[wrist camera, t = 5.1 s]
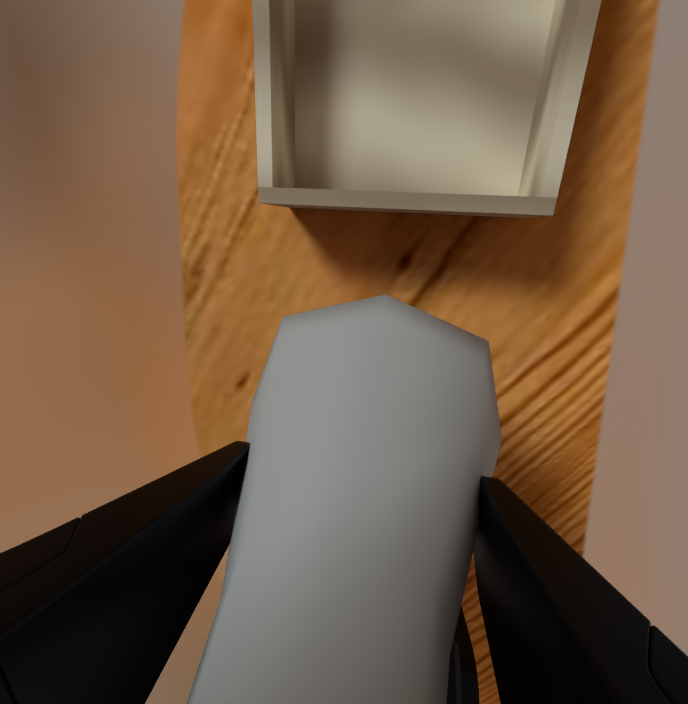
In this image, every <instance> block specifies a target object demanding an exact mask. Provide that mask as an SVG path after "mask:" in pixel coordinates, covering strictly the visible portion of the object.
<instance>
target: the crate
mask: <svg viewBox="0 0 688 704" xmlns="http://www.w3.org/2000/svg"><path fill="white" fill-rule="evenodd" d="M252 1H253V34H254V66H255V99H256V132H257V164H258V197H259V203H262V204H269V205H275V206H282V207H289V208H311V209H334V210H357V211H379V212H402V213H425V214H448V215H470V216H493V217H516V218H525V217H540V216H553V214H554V210H555V205H556V201H557V197H558V192H559V188H560V183H561V179H562V174H563V170H564V165H565V161H566V156H567V152H568V148H569V143H570V139H571V134H572V130H573V125H574V121H575V116H576V112H577V108H578V103H579V99H580V94H581V90H582V85H583V81H584V76H585V72H586V67H587V63H588V59H589V54H590V50H591V45H592V41H593V36H594V32H595V27H596V23H597V18H598V14H599V10H600V5H601V1H602V0H252Z"/></svg>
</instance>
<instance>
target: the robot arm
mask: <svg viewBox="0 0 688 704" xmlns="http://www.w3.org/2000/svg"><path fill="white" fill-rule="evenodd" d="M249 449H250V443H249V442H242V441H235V442H233V443H231V444H229V445H227V446H225V447H223V448H221V449H219V450H217V451H215V452H212V453H210V454H208V455H206V456H204V457H202V458H200V459H198V460H196V461H194V462H192V463H190V464H188V465H186V466H183V467H181V468H179V469H177V470H175V471H173V472H171V473H169V474H167V475H165V476H163V477H161V478H159V479H156V480H155V481H152V482H151V483H148V484H146V485H144V486H142V487H140V488H138V489H136V490H134V491H132V492H130V493H127V494H126V495H123V496H121V497H119V498H117V499H115V500H113V501H111V502H109V503H107V504H105V505H102V506H100V507H98V508H96V509H94V510H92V511H90V512H88V513H86V514H84V515H82V517H81V519H80V518H75V519H73V520H71V521H69V522H67V523H65V524H63V525H61V526H59V527H57V528H55V529H53V530H51V531H48V532H46V533H44V534H42V535H40V536H38V537H35V538H33V539H31V540H29V541H27V542H25V543H22V544H21V545H18V546H16V547H13V548H11V549H9V550H7V551H4V552H2V553H0V704H145V702H146V700H147V698H148V696H149V695H150V693H151V691H152V689H153V687H154V685H155V683H156V681H157V680H158V678H159V676H160V674H161V672H162V670H163V668H164V666H165V665H166V663H167V661H168V659H169V657H170V655H171V653H172V651H173V650H174V648H175V646H176V644H177V642H178V640H179V638H180V636H181V634H182V633H183V631H184V629H185V627H186V625H187V623H188V621H189V619H190V618H191V616H192V614H193V612H194V610H195V608H196V606H197V604H198V603H199V601H200V599H201V597H202V595H203V593H204V591H205V589H206V587H207V586H208V584H209V582H210V580H211V578H212V576H213V574H214V572H215V570H216V569H217V567H218V565H219V563H220V561H221V559H222V557H223V555H224V554H225V552H226V550H227V548H228V546H229V544H230V541H231V536H232V531H233V525H234V519H235V514H236V508H237V503H238V497H239V491H240V486H241V480H242V476H243V472H244V468H245V464H246V460H247V457H248V453H249ZM474 559H475V569H476V579H477V588H478V594H479V600H480V605H481V610H482V615H483V620H484V625H485V629H486V634H487V639H488V644H489V649H490V654H491V658H492V663H493V668H494V673H495V678H496V682H497V687H498V692H499V697H500V702H501V704H688V656H687V655H686V654H685V653H684V652H682V651H681V650H680V649H679V648H678V647H677V646H676V645H675V644H674V643H673V642H672V641H671V640H669V638H667V637H666V636H665V635H664V634H663V633H662V632H661V631H660V630H659V629H658V628H657V627H656V626H651V624H650V621H649V620H648V619H647V618H646V617H645V616H644V615H643V614H642V613H641V612H640V611H639V610H638V609H636V607H634V606H633V605H632V604H631V603H630V602H629V601H628V600H627V599H626V598H625V597H624V596H623V595H622V594H621V593H620V592H619V591H617V590H616V589H615V588H614V587H613V586H612V585H611V584H610V583H609V582H608V581H607V580H606V579H605V578H604V577H603V576H602V575H601V574H600V573H598V572H597V571H596V570H595V569H594V568H593V567H592V566H591V565H590V564H589V563H588V562H586V560H585V559H584V558H583V557H582V556H580V555H579V554H578V553H577V552H576V551H575V550H574V549H573V548H572V547H571V546H570V545H569V544H568V543H567V542H566V541H565V540H564V539H562V538H561V537H560V536H559V535H558V534H557V533H556V532H555V531H554V530H553V529H552V528H551V527H550V526H549V525H548V524H547V523H546V522H544V521H543V520H542V519H541V518H540V517H539V516H538V515H537V514H536V513H535V512H534V511H533V510H532V509H531V508H530V507H529V506H528V505H526V504H525V503H524V502H523V501H522V500H521V499H520V498H519V497H518V496H517V495H516V494H515V493H514V492H513V491H512V490H511V489H510V488H508V487H507V486H506V485H505V484H504V483H503V482H502V481H501V480H500V479H498V478H494V477H487V476H481V478H480V513H479V526H478V531H477V535H476V540H475V544H474ZM650 626H651V627H650ZM447 704H479V688H478V678H477V670H476V663H475V657H474V653H473V648H472V644H471V640H470V636H469V633H468V629H467V625H466V621H465V618H464V614H463V610H462V606H461V607H460V612H459V616H458V621H457V625H456V630H455V634H454V639H453V643H452V648H451V652H450V661H449V675H448V689H447Z"/></svg>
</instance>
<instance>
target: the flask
mask: <svg viewBox="0 0 688 704" xmlns="http://www.w3.org/2000/svg"><path fill="white" fill-rule="evenodd" d="M501 440H502V436H501V429H500V422H499V414H498V407H497V400H496V392H495V385H494V378H493V370H492V363H491V356H490V348H489V341H487V340H485V339H483V338H481V337H478V336H476V335H474V334H472V333H470V332H467V331H465V330H463V329H461V328H459V327H456V326H454V325H452V324H450V323H448V322H445V321H443V320H441V319H439V318H437V317H434V316H432V315H430V314H428V313H426V312H423V311H421V310H419V309H417V308H415V307H412V306H410V305H408V304H406V303H404V302H401V301H399V300H397V299H395V298H393V297H390V296H388V295H386V294H385V295H381V296H376V297H371V298H367V299H362V300H358V301H353V302H348V303H344V304H339V305H334V306H330V307H325V308H321V309H316V310H311V311H307V312H302V313H297V314H293V315H288V316H284V317H283V318H282V321H281V323H280V326H279V329H278V332H277V334H276V337H275V340H274V343H273V345H272V348H271V351H270V354H269V356H268V359H267V362H266V365H265V368H264V370H263V373H262V376H261V379H260V381H259V384H258V387H257V390H256V392H255V395H254V398H253V401H252V406H251V412H250V417H249V425H248V434H247V442H249V443H250V449H249V453H248V457H247V460H246V464H245V468H244V472H243V476H242V480H241V486H240V491H239V497H238V503H237V508H236V514H235V519H234V525H233V531H232V536H231V542H230V547H229V553H228V559H227V565H226V570H225V576H224V582H223V587H222V592H221V598H220V602H219V606H218V609H217V612H216V615H215V618H214V621H213V624H212V627H211V631H210V633H209V636H208V639H207V643H206V646H205V649H204V652H203V655H202V658H201V661H200V664H199V667H198V670H197V673H196V677H195V679H194V683H193V686H192V689H191V692H190V695H189V698H188V701H187V704H447V689H448V675H449V661H450V652H451V648H452V643H453V639H454V634H455V630H456V625H457V621H458V616H459V612H460V607H461V603H462V598H463V594H464V589H465V585H466V580H467V576H468V571H469V567H470V562H471V558H472V553H473V549H474V544H475V540H476V535H477V531H478V526H479V513H480V478H481V476H487V477H492V476H493V472H494V469H495V465H496V461H497V458H498V454H499V449H500V444H501Z"/></svg>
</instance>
